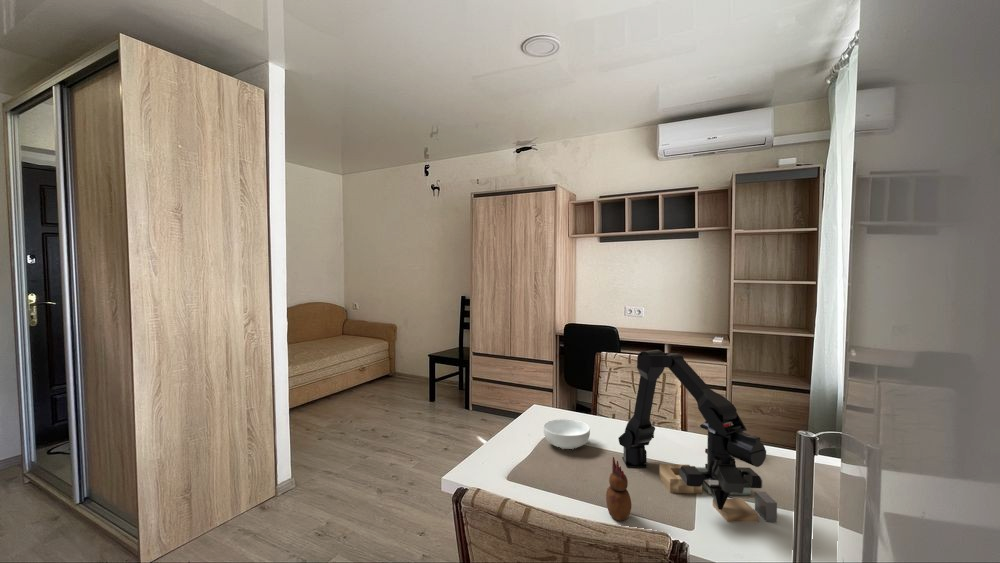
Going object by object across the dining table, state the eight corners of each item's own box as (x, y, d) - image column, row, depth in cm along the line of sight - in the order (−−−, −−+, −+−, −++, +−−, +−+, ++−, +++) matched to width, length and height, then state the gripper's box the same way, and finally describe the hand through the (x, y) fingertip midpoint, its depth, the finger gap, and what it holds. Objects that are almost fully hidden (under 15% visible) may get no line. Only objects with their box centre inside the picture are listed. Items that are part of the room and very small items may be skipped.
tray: (708, 494, 114) (708, 486, 114) (691, 473, 126) (691, 466, 126) (750, 495, 114) (750, 487, 114) (729, 474, 125) (729, 467, 125)
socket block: (670, 492, 115) (670, 479, 115) (659, 476, 124) (659, 464, 124) (702, 493, 115) (702, 479, 115) (689, 477, 124) (689, 464, 124)
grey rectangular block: (766, 521, 102) (766, 502, 102) (754, 510, 107) (755, 491, 107) (776, 522, 101) (776, 502, 101) (764, 510, 106) (765, 491, 106)
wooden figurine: (603, 509, 108) (603, 454, 107) (623, 508, 108) (623, 453, 108) (612, 525, 101) (612, 466, 100) (634, 523, 101) (634, 465, 101)
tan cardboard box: (727, 524, 102) (727, 514, 102) (712, 507, 109) (712, 498, 109) (758, 524, 102) (758, 514, 102) (742, 507, 109) (742, 498, 109)
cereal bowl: (596, 442, 150) (596, 423, 150) (580, 460, 136) (580, 439, 136) (554, 432, 159) (554, 415, 159) (535, 448, 145) (535, 429, 145)
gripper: (696, 463, 97) (695, 527, 97) (776, 465, 96) (775, 529, 96) (678, 444, 108) (678, 500, 108) (750, 445, 107) (749, 503, 107)
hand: (719, 508), depth 105 cm, fingers closed
